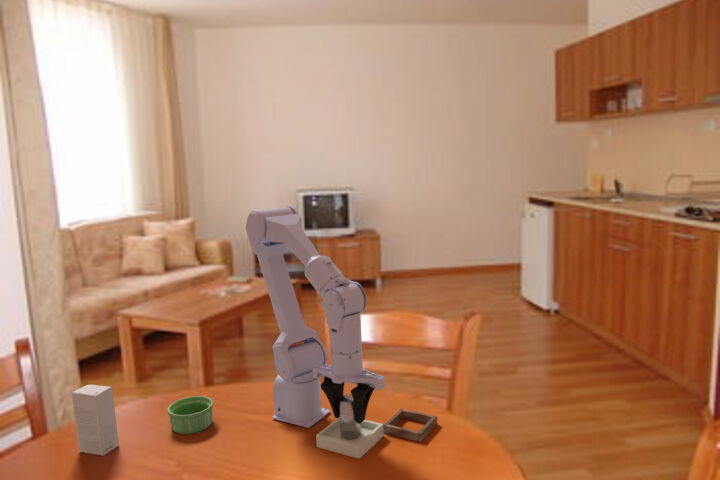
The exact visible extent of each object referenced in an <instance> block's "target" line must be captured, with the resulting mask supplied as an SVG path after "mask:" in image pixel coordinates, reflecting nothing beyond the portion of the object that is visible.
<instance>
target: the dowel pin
mask: <svg viewBox="0 0 720 480" xmlns="http://www.w3.org/2000/svg"><path fill="white" fill-rule="evenodd" d="M339 415H340V435H341V437H343V438H346V439H355V438H358V437H360V436H361V434H362V431H361V423H360V424H359V423H356V418H355V405H354V400H353V397H352V394H351V393H349V394H343V396H341V397H340V398H339Z"/></svg>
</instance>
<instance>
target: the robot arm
mask: <svg viewBox="0 0 720 480" xmlns="http://www.w3.org/2000/svg"><path fill="white" fill-rule="evenodd" d="M302 225H303V221H302V216H301V215H300V214H299V212H298V211H297V209H296V208H294V206H292V205H288V206H287V205H286V206H284V207H274V208H267V209H252V210H251V211H249V214H248V215H247V218H246V224H245V231H246V234H247V235H246V236H247V237H248V241H249V244H250V248H251V250H252V253H253V254H255V255H256V256H257V257H256V258H257V259H258V262H259V266H260V269H261V273H262V275H263V280H264V283H265V286H266V289H267V293H268V295H269V299H270V302H271V306H272V310H273V312H274V315H275V318H276V321H277V325H278V328H279V332H280V334H279V336H278V337H277V339H276V340H275V342H274V343H273V345H272V347H271V348H272V353H273V357H274V358H273V361H274V368H275V371H276V373H277V375H276V377H275V379H274V382H273V387H272V394H273V395H272V396H273V407H274V415H272V416H271V417H272V419H273V420H275V421H276V420H277V421H280V422H283V423H287V424H293V425H294V426H295V425H296V426H299V427H304V428H308V429H309V428H311V427H312V426H314V425H315V424H316V423H318V422H319V421H320V420H322V419H323V418H324V417H325V416H327V415H328V414H329V413H331V410H332V412H333V417H334V419H337V418H339V417H340V415H339V398H340V397H341V396H343V395H344V388H345V383H347V384H348V383H349V384H355V385H356V386H355V387H354V388H352V389H351V390H350V394H352V397H353V400H354V405H355V418H356V423H359V424H360V423H361V422H363V421H364V420H366V415H367V409H368V406H369V403H370V400H371V398H372V395H373V393H374V391H375V390H376V391H381V390H382V389H383V388H384V387H385V386H386V384H385V383H386V382H385V381H386V380H385V376H383V375H380V374H376V373H374V372H371V371H369V370H367V369H365V368H363V367H364V366H363V344H362V320H361V319H362V317H361V315H362V314H361V313H362V312H364V311H365V310H366V307H367V303H368V299H367V294H366V292H365V289H364V288H363V286H362V284H361V283H359V282H357V281H352V280H351V279H349V278H347V277H345V275H344V274H343V272H342V271H341V270H340V269H339V268H338V267H337V266H336V264H335V263H334V262H333V260H332V258H331V257H330V256H327V255H320V254H319V252H318V251H317V249H316V248H315V246H314V244H313V243H312V241H311V240H310V238H309V236H308V235H307V234H306V233H305V231H304V229H303V228H302V227H303V226H302ZM287 249H289V250H290V251H291V252H292V254H294V255H295V257H296V258H297V259H298V260H299V261H300V262H301V263H302V264H303V266H304V276H305V278H306V279H307V280H308V281H309V283H310V284H311V286H312V287H313V288H314V290H315V291H316V292H317V293H318V295H319V296H320V297H321V299H322V301H321V303H320V304H321V307H322V311H323V313H324V316H325V318H326V325H327V327H328V328H329V337H330V356H331V357H330V358H331V364H327V362H328V351H327V349H326V347H325V345H324V344H323V343H322V341H321V339H320V336H319V333H318V332H317V331H316V330H314V329H312V328H310V327H308V326H306V324H305V321H304V317H303V315H302V312H301V308H300V305H299V301H298V299H297V296H296V292H295V289H294V285H293V282H292V280H291V279H292V278H291V276H290V273H289V269H288V267H287V264H286V263H287V262H286V260H285V257H284V254H285V251H286V250H287ZM298 343H299V344H298ZM294 344H296V345H294ZM292 345H293V346H292ZM320 378H322V379H323V382H321V379H320ZM321 391H323V393H324V394H325V396H326V398H327V400H328V402H329V404H330V407H331V410H330V409H329V408H324V407H322V396H321Z"/></svg>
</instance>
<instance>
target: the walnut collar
mask: <svg viewBox="0 0 720 480" xmlns="http://www.w3.org/2000/svg"><path fill="white" fill-rule="evenodd" d="M403 419H406V420H410V421H414V422H419V423H424V426H423V427H421V429H420V430H419V431H417V430H413V429H409V428H406V427H400V426H396V425H398V423H400V422H401V420H403ZM437 425H438V416H436V415H431V414H428V413H423V412H418V411H414V410H409V409H404V408H400V409H399V410H398V411H397V412H396V413H395V414H394V415H392V416H391V417H390V418H389V420H387V421H386V422H385V423H383V431H384V434H386V435H389V436H395V437H399V438H403V439H406V440H410V441H415V442H419V443H421V442H423V440H424V439H425V438H426V437H427V436H428V435H429V434H430V433H431V432H432V431H433V430H434V428H435V427H436V426H437Z"/></svg>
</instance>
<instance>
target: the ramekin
mask: <svg viewBox="0 0 720 480" xmlns="http://www.w3.org/2000/svg"><path fill="white" fill-rule="evenodd" d="M213 406H214V401H213V399H212V398H211V397H208V396H204V395H193V396H187V397H183V398H180V399H178V400H175V401H173V402H172V403H170V404H169V405H168V407H167V414H168V416H169V422H170V425H171V429H172V431H174V433H177V434H182V435H191V434H195V433H199V432H201V431H204V430H206V429H207V428H209V427H210V426H211V425H212V423H213Z"/></svg>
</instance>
